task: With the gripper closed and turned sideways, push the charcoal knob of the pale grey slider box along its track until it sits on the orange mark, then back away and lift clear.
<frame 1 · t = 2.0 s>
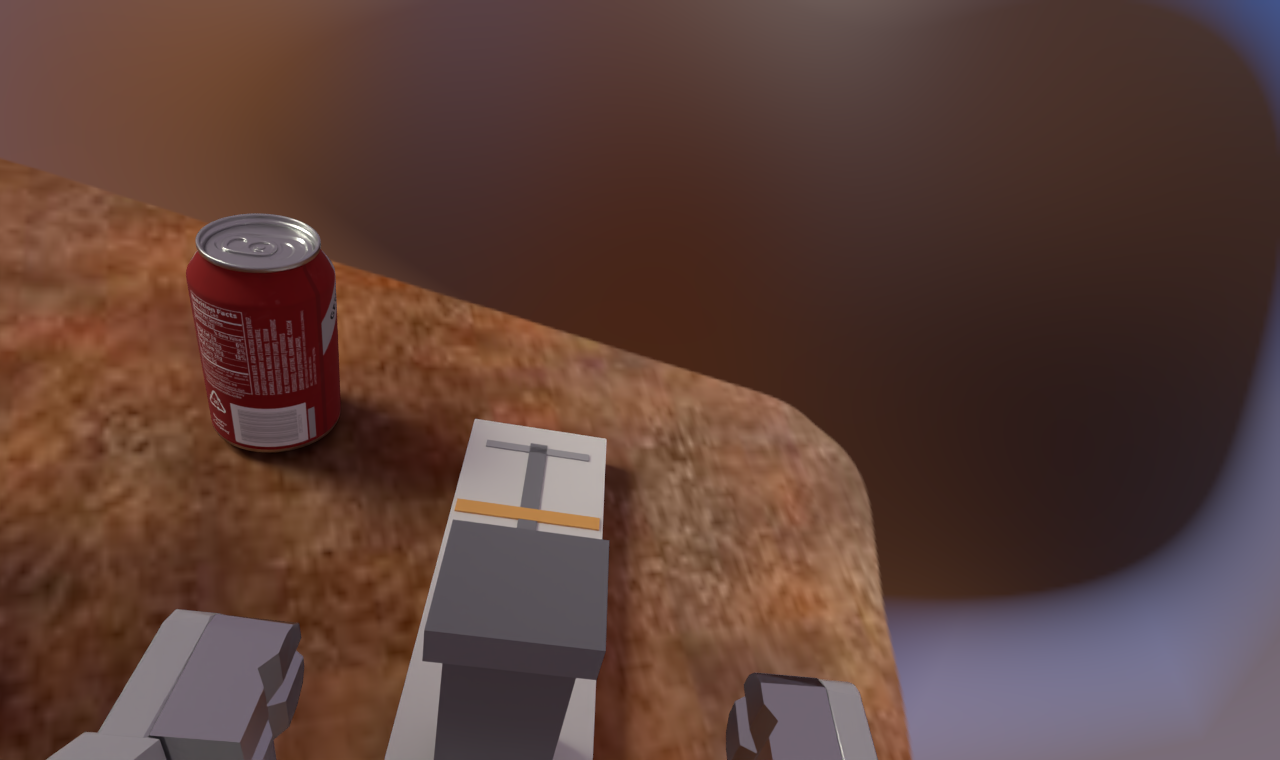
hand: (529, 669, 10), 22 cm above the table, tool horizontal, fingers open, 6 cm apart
slider box: (512, 618, 36), on the table
slider knob: (506, 681, 25), point 8 cm above the table, slide at -8.0 cm
soda can: (279, 423, 44), on the table
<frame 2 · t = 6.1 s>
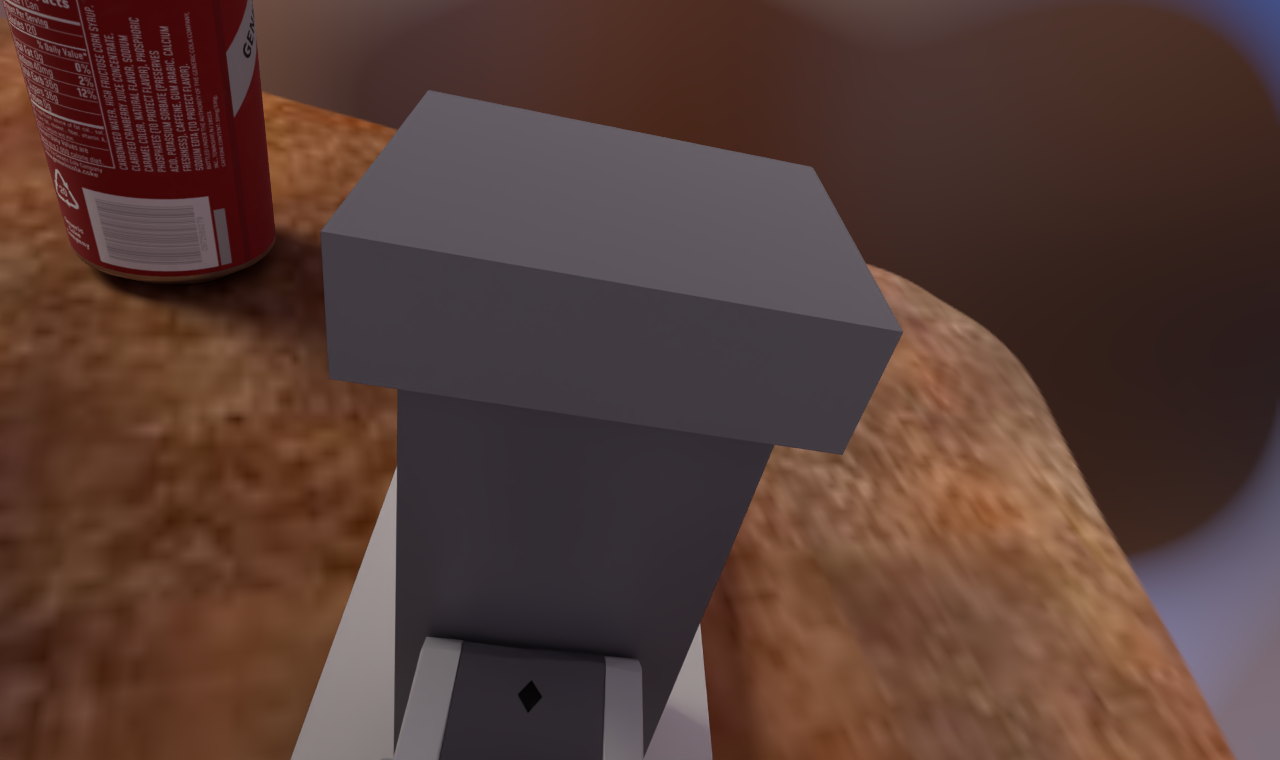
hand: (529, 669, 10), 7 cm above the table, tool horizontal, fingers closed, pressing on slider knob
slider box: (539, 520, 22), on the table
slider knob: (557, 535, 11), point 8 cm above the table, slide at -7.5 cm, touching gripper
soda can: (182, 257, 29), on the table
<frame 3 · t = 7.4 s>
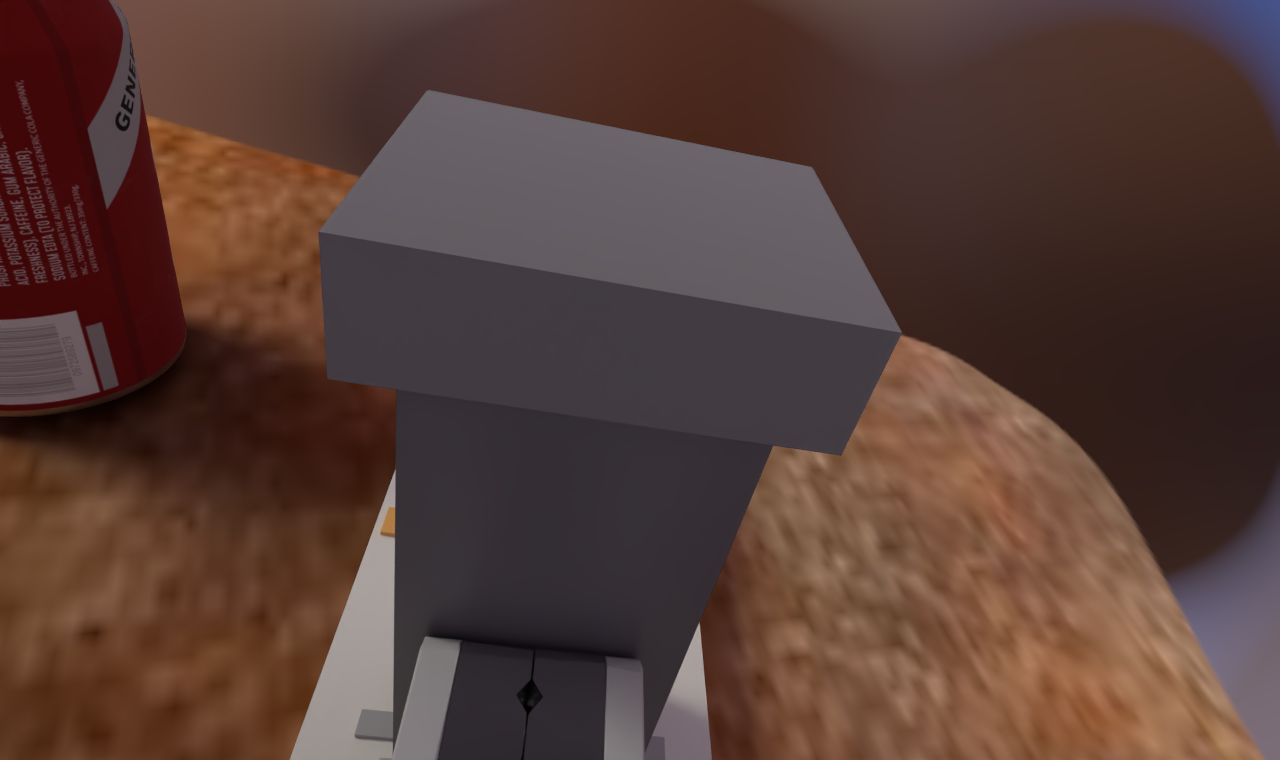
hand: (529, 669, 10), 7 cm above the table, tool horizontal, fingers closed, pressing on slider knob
slider knob: (556, 535, 11), point 8 cm above the table, slide at 0.0 cm, touching gripper
soda can: (65, 367, 23), on the table
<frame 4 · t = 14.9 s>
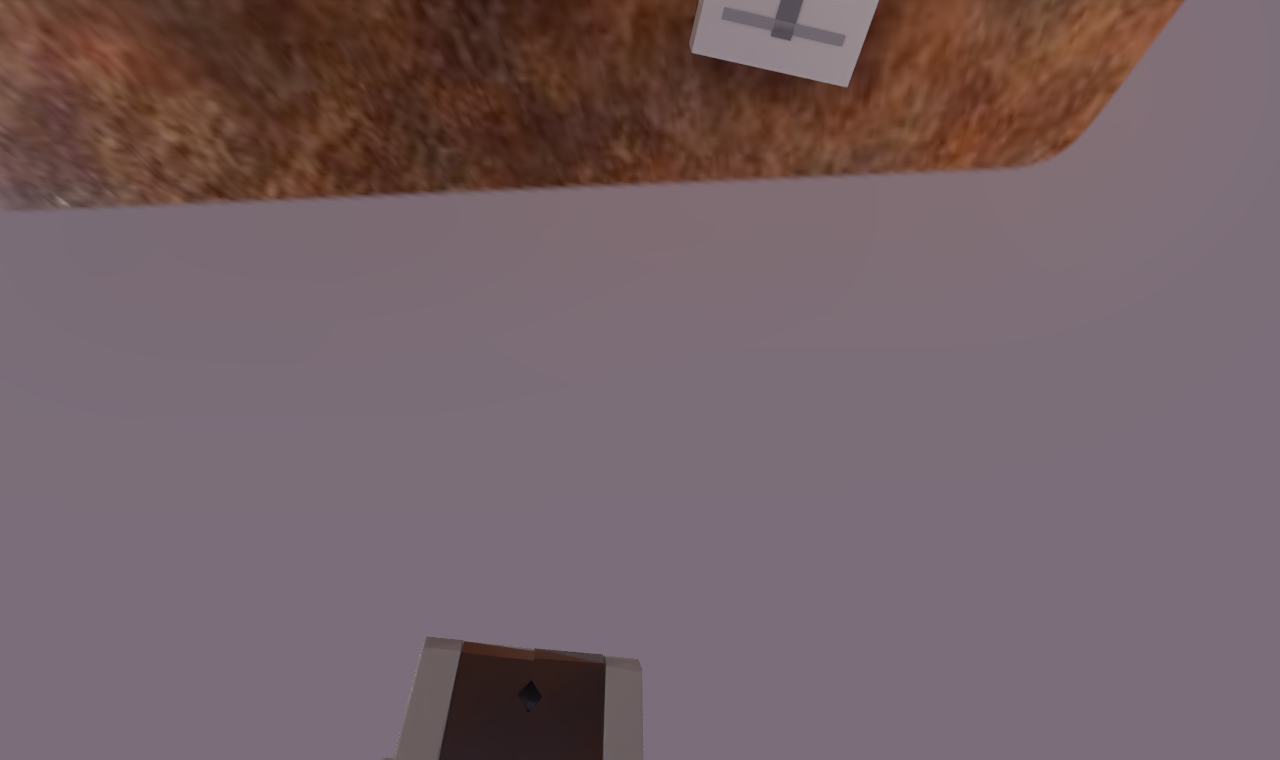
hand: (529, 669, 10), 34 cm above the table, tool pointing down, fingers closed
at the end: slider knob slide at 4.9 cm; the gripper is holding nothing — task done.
